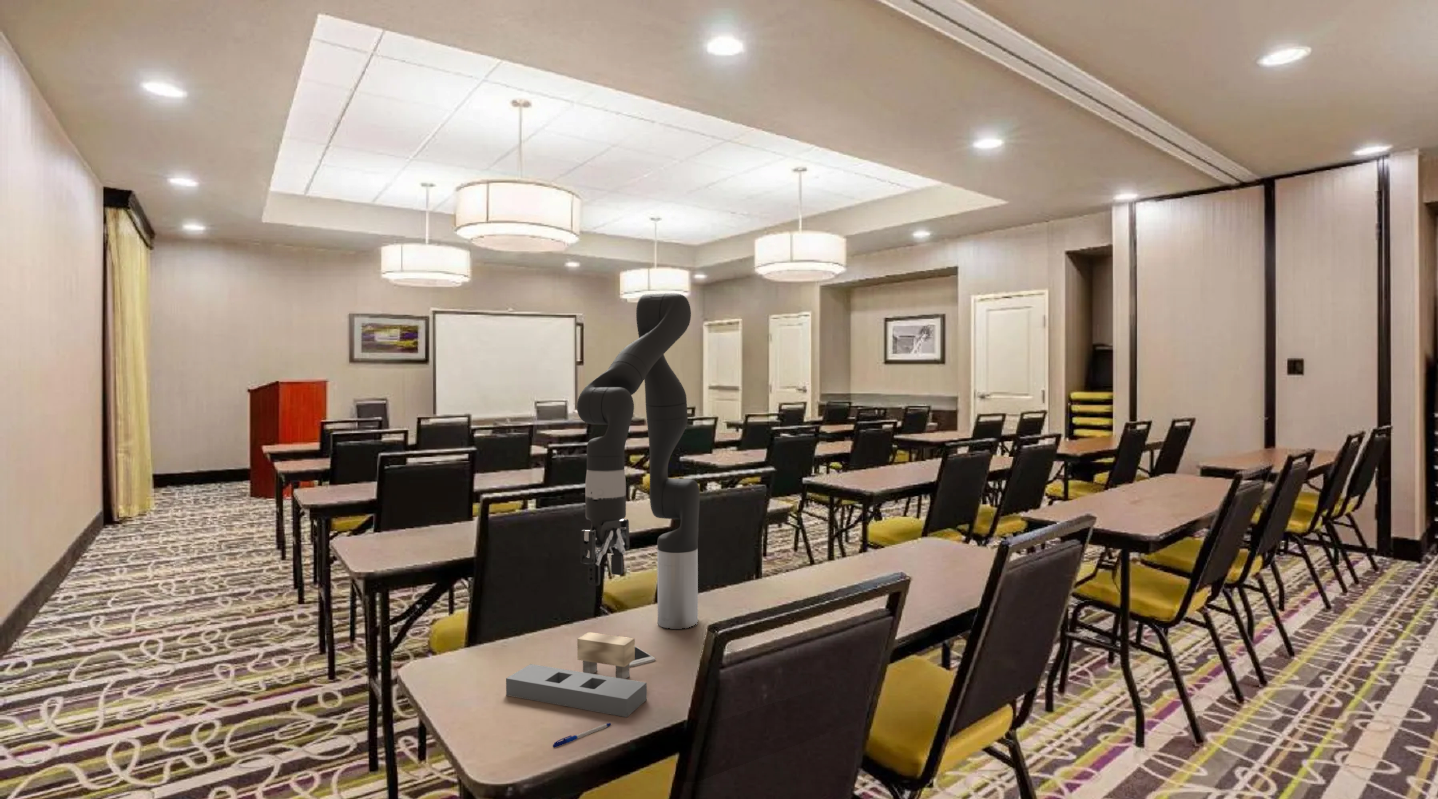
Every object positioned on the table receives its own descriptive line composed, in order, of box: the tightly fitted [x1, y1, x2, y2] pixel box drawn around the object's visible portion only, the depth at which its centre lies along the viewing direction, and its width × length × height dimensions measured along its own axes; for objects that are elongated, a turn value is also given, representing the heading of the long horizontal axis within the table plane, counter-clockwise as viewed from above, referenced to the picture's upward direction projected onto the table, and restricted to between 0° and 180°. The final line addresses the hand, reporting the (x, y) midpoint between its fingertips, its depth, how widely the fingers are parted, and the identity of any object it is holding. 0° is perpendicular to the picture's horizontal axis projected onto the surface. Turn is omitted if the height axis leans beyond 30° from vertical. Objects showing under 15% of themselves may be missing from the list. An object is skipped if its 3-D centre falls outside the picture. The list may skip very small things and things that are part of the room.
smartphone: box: [629, 645, 656, 668], centre depth 150 cm, size 7×16×1 cm, turn 35°
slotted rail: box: [505, 663, 648, 718], centre depth 128 cm, size 24×7×3 cm, turn 69°
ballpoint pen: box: [552, 722, 612, 749], centre depth 114 cm, size 10×1×1 cm, turn 136°
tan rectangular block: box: [576, 631, 636, 679], centre depth 138 cm, size 10×4×7 cm, turn 69°
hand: (605, 579), depth 138 cm, fingers open, 8 cm apart
